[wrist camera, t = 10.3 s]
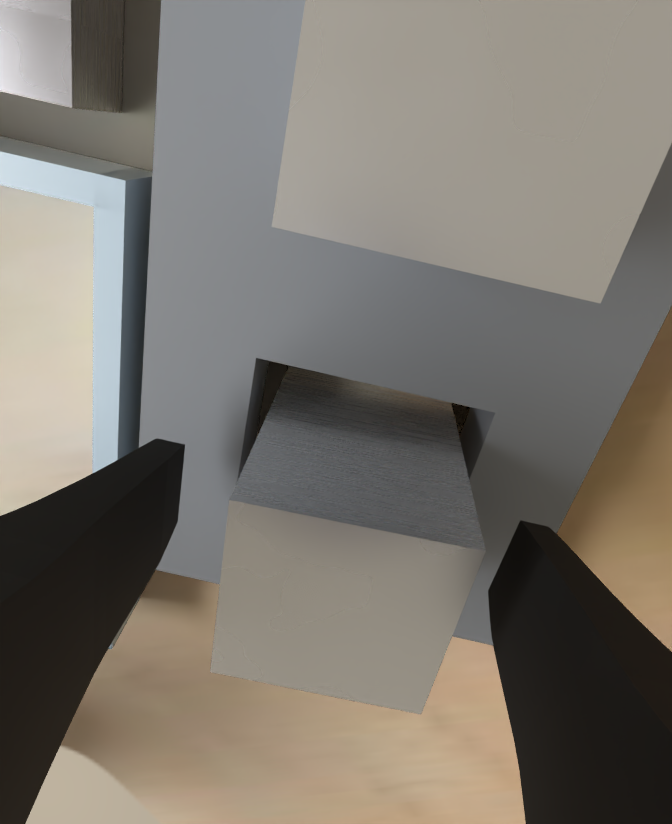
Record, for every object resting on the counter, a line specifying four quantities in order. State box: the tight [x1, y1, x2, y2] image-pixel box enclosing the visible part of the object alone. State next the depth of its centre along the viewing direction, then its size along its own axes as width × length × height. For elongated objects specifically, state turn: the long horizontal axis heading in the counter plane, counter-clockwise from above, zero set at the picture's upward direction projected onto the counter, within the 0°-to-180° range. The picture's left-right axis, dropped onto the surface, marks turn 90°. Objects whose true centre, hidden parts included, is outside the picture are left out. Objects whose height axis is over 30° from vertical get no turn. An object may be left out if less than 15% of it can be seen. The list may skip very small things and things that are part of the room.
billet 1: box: [272, 0, 672, 304], centre depth 8 cm, size 4×4×6 cm
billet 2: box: [210, 365, 486, 714], centre depth 12 cm, size 4×4×6 cm
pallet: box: [139, 0, 672, 645], centre depth 12 cm, size 16×10×2 cm, turn 168°
